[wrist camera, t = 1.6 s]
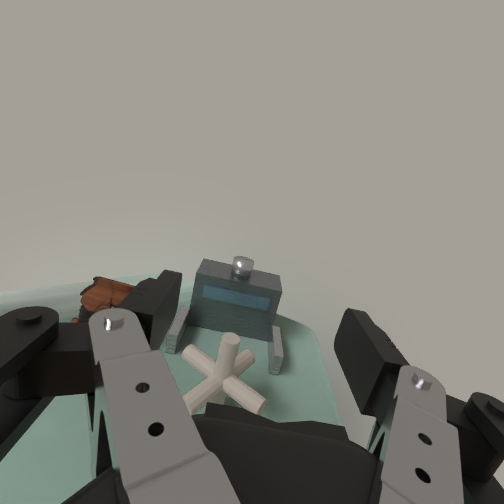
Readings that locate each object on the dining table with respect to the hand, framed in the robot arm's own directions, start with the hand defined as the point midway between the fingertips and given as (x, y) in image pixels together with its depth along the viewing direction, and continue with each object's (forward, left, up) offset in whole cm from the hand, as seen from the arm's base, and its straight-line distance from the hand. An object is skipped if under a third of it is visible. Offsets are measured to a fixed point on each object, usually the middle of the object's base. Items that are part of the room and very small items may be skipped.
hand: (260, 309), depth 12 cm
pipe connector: (0, +12, -21) cm, 24 cm away
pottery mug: (-16, +22, -21) cm, 34 cm away
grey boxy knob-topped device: (0, +26, -20) cm, 33 cm away
